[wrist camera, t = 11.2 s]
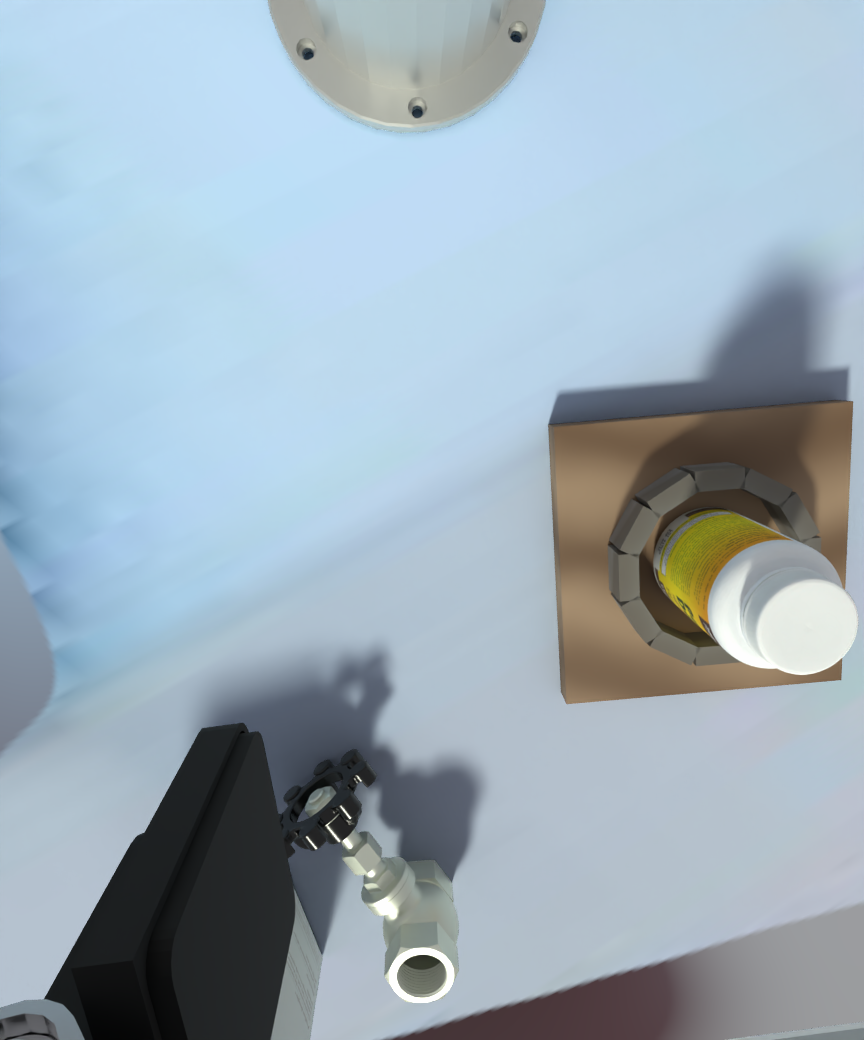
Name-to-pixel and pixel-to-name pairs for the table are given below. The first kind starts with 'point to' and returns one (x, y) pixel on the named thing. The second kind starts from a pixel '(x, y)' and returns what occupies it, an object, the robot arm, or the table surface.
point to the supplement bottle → (756, 591)
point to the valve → (381, 880)
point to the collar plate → (659, 501)
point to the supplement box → (298, 982)
